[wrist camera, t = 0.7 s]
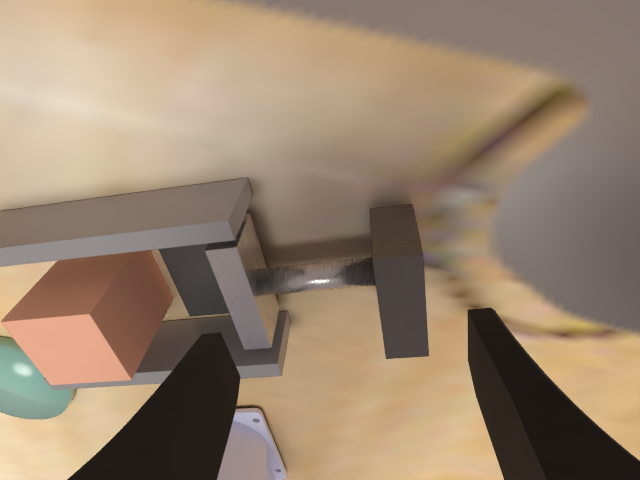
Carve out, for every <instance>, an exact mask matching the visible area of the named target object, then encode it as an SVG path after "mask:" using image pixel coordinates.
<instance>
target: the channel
mask: <svg viewBox="0 0 640 480" xmlns="http://www.w3.org/2000/svg"><path fill="white" fill-rule="evenodd" d="M252 196H253V194H252V191H251V187H250V184H249V180H248V178H241V179H234V180H226V181H219V182H212V183H204V184H197V185H189V186H182V187H175V188H167V189H160V190H153V191H145V192H138V193H130V194H123V195H116V196H108V197H101V198H94V199H86V200H79V201H71V202H64V203H57V204H49V205H42V206H35V207H27V208H20V209H12V210H5V211H0V267H3V266H11V265H20V264H29V263H38V262H47V261H56V260H65V259H73V258H82V257H91V256H100V255H109V254H118V253H127V252H135V251H144V250H153V249H159V251H160V253H161V256H162V258H163V260H164V262H165V264H166V266H167V268H168V270H169V273H170V275H171V277H172V279H173V281H174V283H175V285H176V287H177V290H178V292H179V294H180V296H181V298H182V300H183V302H184V304H185V307H186V309H187V311H188V313H189V315H190V316H201V315H213V314H224V313H230V312H229V310H228V307H227V305H226V302H225V300H224V297H223V295H222V292H221V290H220V287H219V285H218V282H217V280H216V277H215V275H214V272H213V270H212V267H211V265H210V262H209V260H208V257H207V255H206V252H205V250H206V248H207V246H208V244H209V243H215V242H224V241H233V240H235V239H236V236H237V234H238V231H239V229H240V226H241V224H242V221H243V219H244V216H245V214H246V211H247V209H248V206H249V204H250V201H251V199H252ZM290 324H291V322H290V318H289V315H288V312H287V311H280V312H279V313H278V318H277V323H276V328H275V333H274V338H273V342H272V347H271V348H261V349H248V350H244V347H243V345H242V342H241V340H240V337H239V335H238V332H237V330H236V327H235V325H234V322H233V320H232V317H231V316H221V317H210V318H198V319H186V320H174V321H163V322H161V324H160V326H159V328H158V330H157V332H156V334H155V335H154V337H153V339H152V341H151V343H150V345H149V347H148V349H147V351H146V353H145V355H144V357H143V359H142V361H141V363H140V365H139V367H138V369H137V371H136V373H135V375H134V376H133V378H132V380H125V381H109V382H93V383H77V384H61V385H51V384H50V383H49V382H48V381H47V379H46V378H44V380H45V381H46V383H47V384H48V385H49V386H50V387H51V389H52V390H61V389H78V388H94V387H110V386H126V385H143V384H159V383H163V382H164V380H165V379H166V378H167V377H168V375H169V374H170V373H171V372H172V371H173V369H174V368H175V367H176V366H177V364H178V363H179V362H180V361H181V359H182V358H183V357H184V356H185V354H186V353H187V352H188V350H189V349H190V348H191V347H192V345H193V344H194V343H195V342H196V340H197V339H198V338H199V337H200V336H201V334H208V333H219V332H221V334H222V336H223V339H224V341H225V343H226V345H227V348H228V350H229V352H230V354H231V356H232V359H233V361H234V363H235V365H236V368H237V370H238V372H239V374H240V378H256V377H272V376H282V372H283V366H284V360H285V354H286V348H287V342H288V336H289V330H290Z"/></svg>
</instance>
